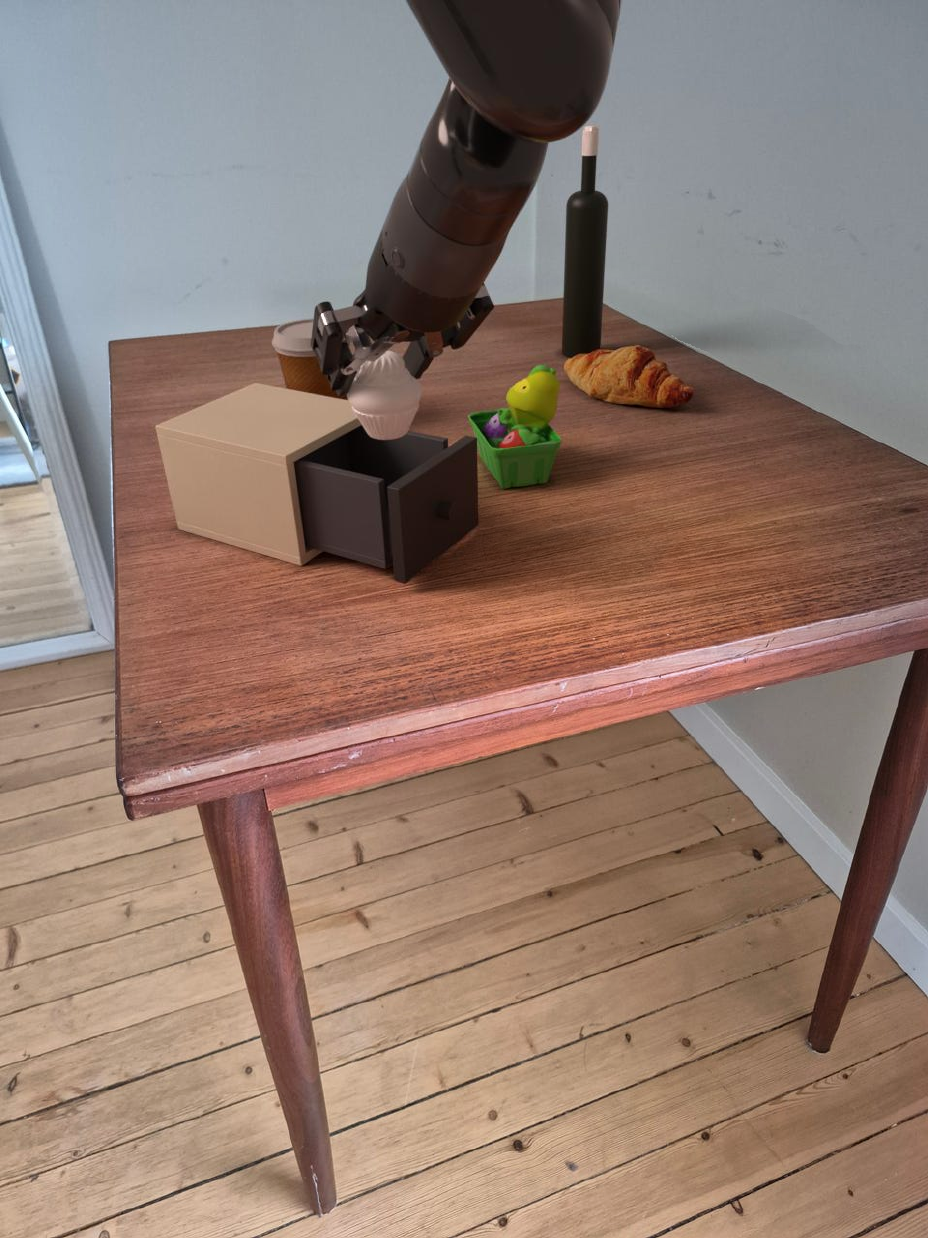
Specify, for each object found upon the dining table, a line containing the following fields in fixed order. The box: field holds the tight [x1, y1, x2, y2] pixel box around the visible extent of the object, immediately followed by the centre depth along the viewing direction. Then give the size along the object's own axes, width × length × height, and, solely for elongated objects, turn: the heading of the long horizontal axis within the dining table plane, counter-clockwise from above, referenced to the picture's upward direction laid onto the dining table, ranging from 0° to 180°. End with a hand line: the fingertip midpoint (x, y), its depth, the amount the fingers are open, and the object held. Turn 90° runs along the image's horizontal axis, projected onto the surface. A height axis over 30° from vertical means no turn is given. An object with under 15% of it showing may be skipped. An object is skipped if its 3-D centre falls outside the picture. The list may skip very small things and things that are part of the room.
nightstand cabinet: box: [154, 382, 362, 567], centre depth 88 cm, size 16×14×11 cm
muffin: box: [347, 350, 423, 440], centre depth 73 cm, size 6×6×7 cm
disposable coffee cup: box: [271, 318, 348, 400], centre depth 109 cm, size 10×10×12 cm
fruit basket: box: [467, 364, 563, 490], centre depth 96 cm, size 11×9×11 cm
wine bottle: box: [561, 125, 609, 358], centre depth 127 cm, size 6×6×30 cm
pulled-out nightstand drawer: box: [293, 425, 480, 585], centre depth 82 cm, size 16×13×9 cm
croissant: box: [563, 344, 695, 409], centre depth 117 cm, size 21×10×8 cm, turn 43°
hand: (374, 377), depth 74 cm, fingers closed on muffin, 6 cm apart
